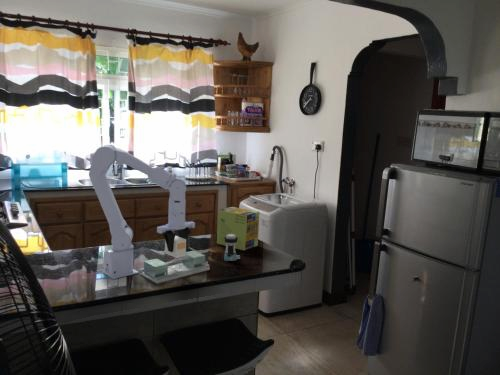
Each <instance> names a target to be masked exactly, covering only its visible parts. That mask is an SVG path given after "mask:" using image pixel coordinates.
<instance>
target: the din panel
mask: <svg viewBox="0 0 500 375" xmlns="http://www.w3.org/2000/svg"><path fill="white" fill-rule="evenodd" d="M210 269H211V268H210V264H206V255H205V254H203V253H202V252H201V253H200V252H198V251H197V250H191V251H189V250H188V251H186V256H183V257H182V259H178V260H174V261H170V262H164V261H163V260H161V259H158V258H153V259H148V260H145V261H143V267H142V268H139V275H140V276H142V277H144V278H146V279H148V280H149V281H151V282H153V283H155V284H161V283H165V282H169V281H173V280H175V279H179V278H184V277H186V276H191V275H194V274H199V273H202V272H206V271H209V270H210Z"/></svg>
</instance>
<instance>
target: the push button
mask: <svg viewBox="0 0 500 375" xmlns="http://www.w3.org/2000/svg"><path fill="white" fill-rule="evenodd" d="M224 239H225V242H226V246H225V251H224V253H223V260H224V262H229V261H237V260H238V259H239V260H240V259H241V257H239V255H237V252H236V248H235V243H236V242H237V239H238V237H236V235H234V234H227V236H225V237H224ZM228 244H229V245H228Z"/></svg>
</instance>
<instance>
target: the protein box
mask: <svg viewBox="0 0 500 375" xmlns="http://www.w3.org/2000/svg"><path fill="white" fill-rule="evenodd" d="M217 214H218V215H217V235H216V244H217V245H220V246H225V247H226V242H225V239H224V237H225V236H227V234H234V235H236V237H238V239H237V242H236V243H235V250H236V249H237V250H240V251H247V250H250V249H252V247H253V248H255V247H258V246H259V230H260V228H259V227H260V211H258V210H251V209H247V208H241V207H234V206H231V207H230V206H229V207H225V208H221V209H218V212H217ZM228 245H229V244H228Z"/></svg>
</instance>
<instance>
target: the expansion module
mask: <svg viewBox="0 0 500 375" xmlns="http://www.w3.org/2000/svg"><path fill="white" fill-rule="evenodd" d="M186 252H187V250H186V239H184V238H181V237H178V236H175V238H174V248H173V252H170V251H168V248H167V244H166V241H165V240H164V254H166V255H168V256H171V257H173V258H174V259H178V258H183V256H186Z"/></svg>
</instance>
